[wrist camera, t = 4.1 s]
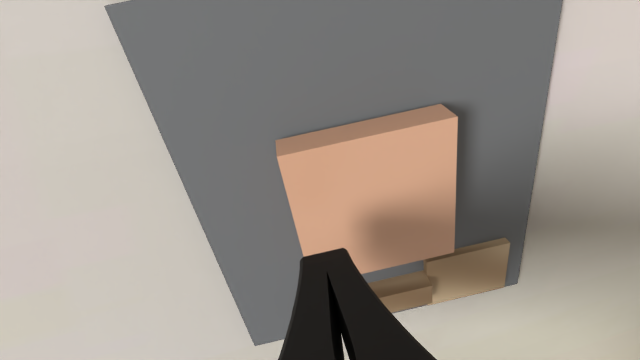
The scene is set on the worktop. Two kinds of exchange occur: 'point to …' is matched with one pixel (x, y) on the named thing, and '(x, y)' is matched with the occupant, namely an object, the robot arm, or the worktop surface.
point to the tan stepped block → (447, 277)
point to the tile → (375, 187)
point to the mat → (336, 112)
